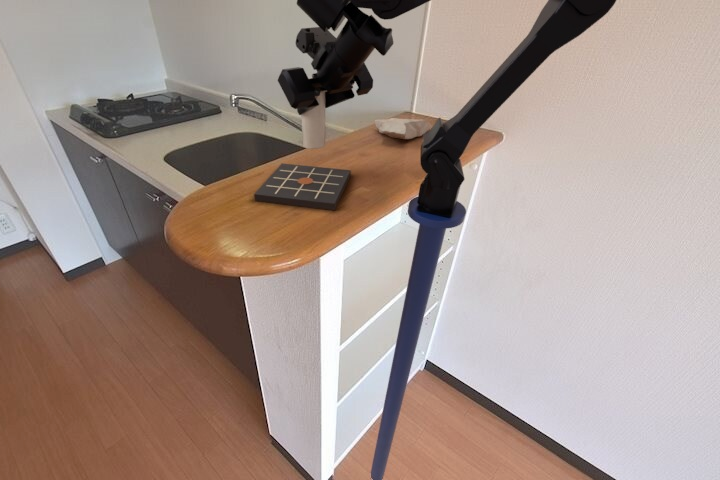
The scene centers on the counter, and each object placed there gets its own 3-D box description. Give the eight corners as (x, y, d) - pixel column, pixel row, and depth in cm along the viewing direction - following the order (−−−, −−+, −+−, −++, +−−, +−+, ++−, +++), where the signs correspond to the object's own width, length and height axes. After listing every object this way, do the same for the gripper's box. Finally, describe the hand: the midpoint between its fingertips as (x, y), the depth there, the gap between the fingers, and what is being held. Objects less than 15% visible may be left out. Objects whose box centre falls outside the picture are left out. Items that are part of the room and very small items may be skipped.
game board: (350, 176, 78) (350, 169, 77) (334, 210, 66) (334, 203, 65) (282, 169, 81) (281, 162, 80) (254, 200, 69) (253, 193, 68)
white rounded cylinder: (329, 143, 75) (329, 74, 67) (318, 150, 71) (317, 78, 63) (309, 140, 77) (307, 72, 69) (298, 146, 73) (295, 76, 65)
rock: (353, 139, 98) (401, 146, 89) (353, 122, 95) (402, 127, 87) (393, 128, 112) (438, 132, 103) (394, 112, 109) (440, 115, 101)
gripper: (366, 6, 62) (325, 69, 76) (279, 9, 53) (250, 81, 66) (395, 62, 62) (349, 115, 76) (313, 75, 53) (277, 133, 66)
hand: (309, 110), depth 71 cm, fingers closed on white rounded cylinder, 5 cm apart
